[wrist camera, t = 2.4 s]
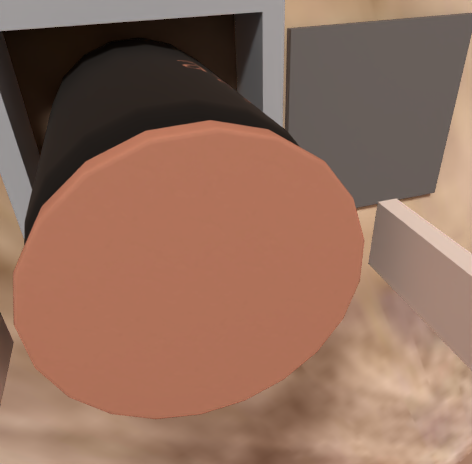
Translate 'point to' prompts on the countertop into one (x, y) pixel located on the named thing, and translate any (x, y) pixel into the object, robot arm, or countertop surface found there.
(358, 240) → the coffee jar
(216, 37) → the countertop surface
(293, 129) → the pad
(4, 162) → the pocket frame
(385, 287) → the countertop surface
